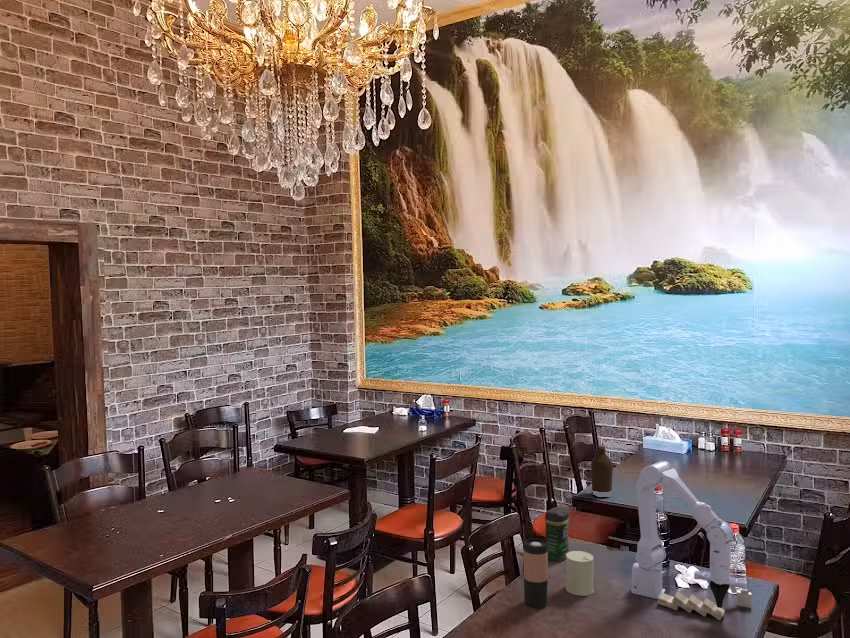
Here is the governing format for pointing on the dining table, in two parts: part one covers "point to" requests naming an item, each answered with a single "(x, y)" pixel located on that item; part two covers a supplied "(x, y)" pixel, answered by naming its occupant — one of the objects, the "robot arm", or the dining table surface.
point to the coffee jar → (557, 533)
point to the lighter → (742, 597)
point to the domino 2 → (682, 601)
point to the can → (579, 573)
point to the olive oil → (601, 471)
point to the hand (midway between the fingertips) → (719, 606)
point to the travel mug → (535, 573)
